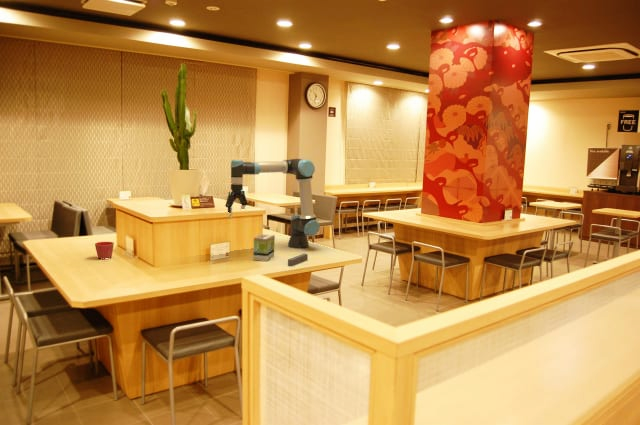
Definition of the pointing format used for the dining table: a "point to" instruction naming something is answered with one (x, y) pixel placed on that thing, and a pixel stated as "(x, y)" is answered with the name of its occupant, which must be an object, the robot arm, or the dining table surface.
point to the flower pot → (104, 249)
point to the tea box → (263, 247)
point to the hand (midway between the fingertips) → (236, 216)
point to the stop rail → (297, 259)
